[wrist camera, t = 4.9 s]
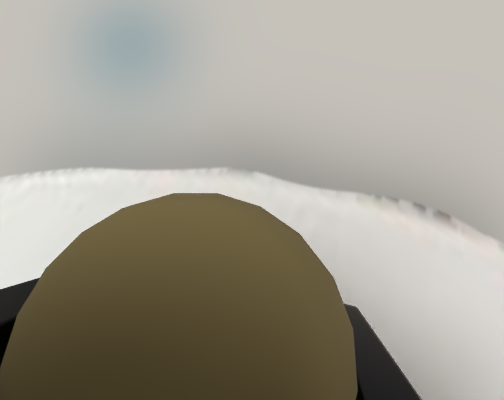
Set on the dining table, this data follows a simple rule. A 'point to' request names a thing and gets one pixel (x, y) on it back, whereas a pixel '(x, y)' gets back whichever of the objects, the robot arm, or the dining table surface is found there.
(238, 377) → the cork
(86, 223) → the dining table surface
